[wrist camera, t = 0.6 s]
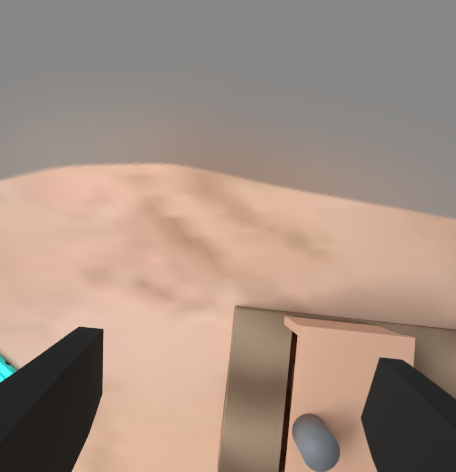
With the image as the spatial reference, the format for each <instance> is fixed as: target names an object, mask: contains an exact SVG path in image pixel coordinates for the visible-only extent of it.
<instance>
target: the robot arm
mask: <svg viewBox="0 0 456 472" xmlns="http://www.w3.org/2000/svg"><path fill="white" fill-rule="evenodd" d="M102 379H103V329H97V328H87V327H78V328H77V329H75V330H74V331H72V332H71V333H69V334H68V335H67V336H65V337H64V338H62V339H61V340H60V341H58V342H57V343H56V344H54V345H53V346H51V347H50V348H49V349H47V350H46V351H45V352H43V353H42V354H40V355H39V356H38V357H36V358H35V359H33V360H32V361H31V362H29V363H28V364H26V365H25V366H23V367H22V368H20V369H19V370H18V371H16V372H15V373H13V374H12V375H10V376H9V377H7V378H6V379H4V380H3V381H1V382H0V472H72V470H73V467H74V465H75V463H76V461H77V459H78V457H79V454H80V452H81V450H82V448H83V446H84V444H85V441H86V439H87V437H88V435H89V432H90V429H91V426H92V423H93V421H94V418H95V415H96V412H97V409H98V405H99V402H100V399H101V396H102ZM361 421H362V425H363V429H364V432H365V436H366V440H367V443H368V447H369V450H370V453H371V457H372V459H373V462H374V464H375V467H376V469H377V472H456V399H455V398H454V397H452V396H451V395H450V394H448V393H447V392H446V391H444V390H443V389H442V388H441V387H439V386H438V385H437V384H435V383H434V382H433V381H431V380H430V379H429V378H428V377H426V376H425V375H424V374H422V373H421V372H420V371H418V370H417V369H415V368H414V367H413V366H411V365H410V364H408V363H407V362H405V361H404V360H402V359H392V358H382V357H380V358H379V361H378V364H377V367H376V370H375V374H374V377H373V380H372V383H371V386H370V390H369V393H368V396H367V399H366V403H365V406H364V409H363V412H362V415H361Z"/></svg>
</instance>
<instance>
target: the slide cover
mask: <svg viewBox="0 0 456 472" xmlns="http://www.w3.org/2000/svg"><path fill="white" fill-rule="evenodd" d="M284 325H285V326H287V327H288V328H289V329H290V330H292V331H293V332H294V333H295V334H297V335H298V338H297V348H296V359H295V369H294V380H293V390H292V401H291V411H290V422H289V432H288V443H287V453H286V464H285V472H377V469H376V467H375V464H374V462H373V459H372V457H371V453H370V450H369V447H368V443H367V440H366V436H365V432H364V429H363V425H362V421H361V415H362V412H363V409H364V406H365V403H366V399H367V396H368V393H369V390H370V386H371V383H372V380H373V377H374V374H375V370H376V367H377V364H378V361H379V358H380V357H382V358H392V359H402V360H404V361H405V362H407V363H408V364H410V365H411V366H413V365H414V350H415V338H414V337H411V336H408V335H401V334H399V333H396V332H393V331H391V330H388V329H385V328H382V327H380V326H374V325H365V324H355V323H346V322H337V321H328V320H318V319H309V318H300V317H290V316H285V317H284Z"/></svg>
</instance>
